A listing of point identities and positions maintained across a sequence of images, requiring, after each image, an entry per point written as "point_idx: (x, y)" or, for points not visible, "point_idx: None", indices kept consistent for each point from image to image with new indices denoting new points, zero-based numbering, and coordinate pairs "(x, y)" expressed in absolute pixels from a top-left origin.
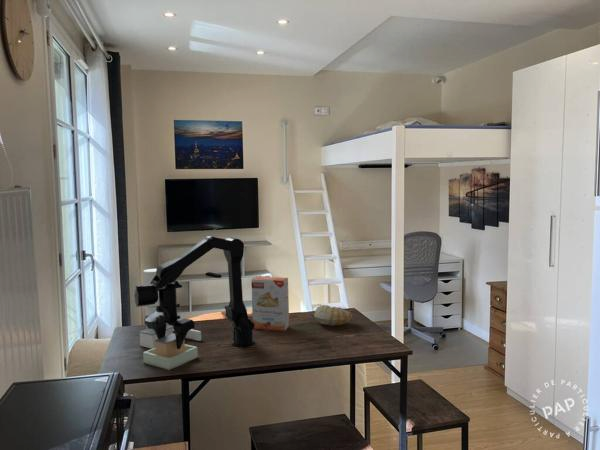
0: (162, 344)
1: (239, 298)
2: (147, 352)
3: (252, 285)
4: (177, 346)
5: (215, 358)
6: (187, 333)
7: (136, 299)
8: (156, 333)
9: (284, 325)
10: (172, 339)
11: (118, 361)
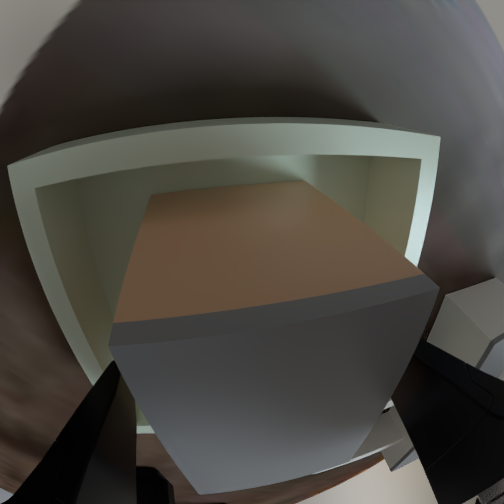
0: (229, 296)
1: None
2: (407, 153)
3: None
4: (104, 381)
5: (59, 399)
6: (372, 435)
7: None
8: (484, 381)
9: None
10: (198, 445)
11: (491, 87)
